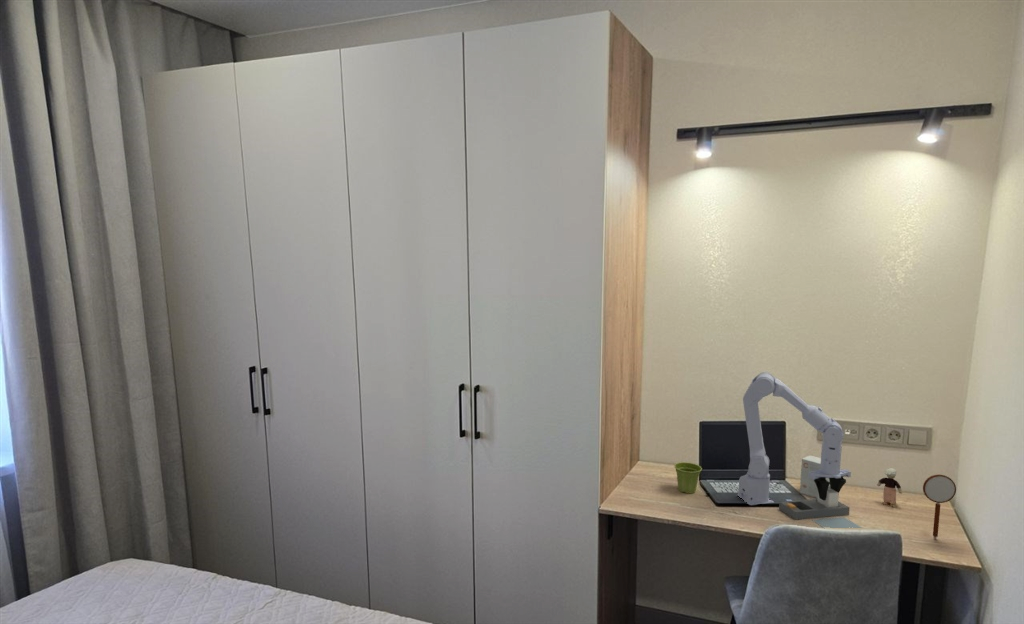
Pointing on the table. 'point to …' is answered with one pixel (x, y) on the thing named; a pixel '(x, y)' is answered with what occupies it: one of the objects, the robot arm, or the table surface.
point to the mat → (836, 523)
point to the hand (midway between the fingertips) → (827, 498)
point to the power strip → (811, 509)
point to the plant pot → (687, 476)
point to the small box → (806, 483)
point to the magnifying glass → (939, 494)
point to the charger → (830, 498)
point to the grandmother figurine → (890, 487)
